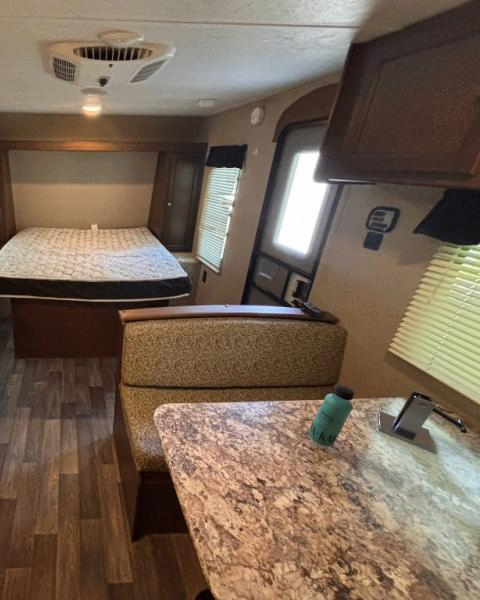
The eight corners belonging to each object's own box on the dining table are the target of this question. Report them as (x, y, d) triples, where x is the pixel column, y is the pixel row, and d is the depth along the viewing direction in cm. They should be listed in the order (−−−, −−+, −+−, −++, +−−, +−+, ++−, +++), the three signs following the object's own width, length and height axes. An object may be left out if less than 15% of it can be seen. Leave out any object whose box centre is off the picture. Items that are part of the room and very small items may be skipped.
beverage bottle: (309, 429, 98) (334, 377, 90) (335, 443, 93) (363, 390, 85) (302, 440, 94) (327, 386, 86) (328, 455, 89) (357, 400, 81)
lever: (458, 425, 92) (466, 420, 91) (462, 435, 89) (470, 430, 87) (411, 396, 97) (418, 392, 96) (413, 405, 94) (420, 400, 92)
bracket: (427, 432, 99) (450, 398, 94) (431, 452, 92) (457, 416, 87) (377, 413, 106) (396, 380, 101) (378, 430, 99) (398, 396, 93)
